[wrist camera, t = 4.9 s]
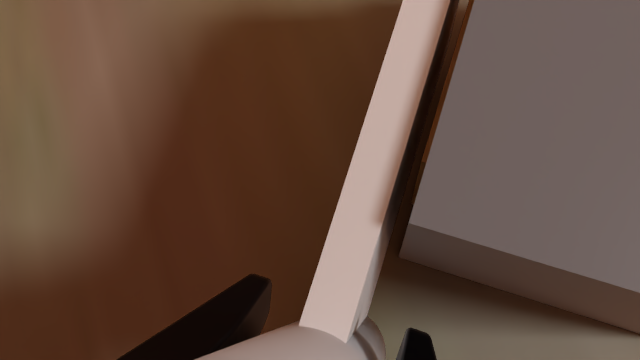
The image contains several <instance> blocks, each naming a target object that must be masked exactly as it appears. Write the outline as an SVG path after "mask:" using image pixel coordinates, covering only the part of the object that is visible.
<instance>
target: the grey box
mask: <svg viewBox="0 0 640 360" xmlns="http://www.w3.org/2000/svg"><path fill="white" fill-rule="evenodd" d="M411 204H414V206H413V209H412V213H411V216H410V219H409V223H408V226H407V230H406V233H405V236H404V240H403V243H402V246H401V250H400V253H399V258H402V259H405V260H409V261H412V262H415V263H418V264H421V265H424V266H428V267H431V268H434V269H437V270H440V271H443V272H446V273H450V274H453V275H456V276H459V277H462V278H465V279H468V280H472V281H475V282H478V283H481V284H484V285H487V286H491V287H494V288H497V289H500V290H503V291H506V292H509V293H513V294H516V295H519V296H522V297H525V298H528V299H532V300H535V301H538V302H541V303H544V304H547V305H550V306H554V307H557V308H560V309H563V310H566V311H569V312H572V313H576V314H579V315H582V316H585V317H588V318H591V319H595V320H598V321H601V322H604V323H607V324H610V325H613V326H617V327H620V328H623V329H626V330H629V331H632V332H636V333H639V334H640V0H469V3H468V6H467V9H466V13H465V16H464V19H463V23H462V26H461V30H460V33H459V36H458V40H457V43H456V46H455V50H454V53H453V57H452V60H451V63H450V67H449V70H448V73H447V77H446V80H445V83H444V87H443V90H442V94H441V97H440V100H439V104H438V107H437V110H436V114H435V117H434V120H433V124H432V127H431V131H430V134H429V137H428V141H427V144H426V147H425V151H424V154H423V157H422V161H421V165H420V169H419V173H418V176H417V180H416V184H415V188H414V192H413V196H412V200H411Z"/></svg>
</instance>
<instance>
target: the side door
mask: <svg viewBox="0 0 640 360" xmlns="http://www.w3.org/2000/svg"><path fill="white" fill-rule="evenodd" d="M458 3H459V0H403V2H402V5H401V8H400V12H399V15H398V18H397V21H396V24H395V27H394V30H393V33H392V36H391V40H390V43H389V46H388V49H387V52H386V55H385V58H384V61H383V64H382V68H381V71H380V74H379V77H378V80H377V83H376V86H375V89H374V92H373V96H372V99H371V102H370V105H369V108H368V111H367V114H366V117H365V120H364V124H363V127H362V130H361V133H360V136H359V139H358V142H357V145H356V148H355V152H354V155H353V158H352V161H351V164H350V167H349V170H348V173H347V176H346V179H345V183H344V186H343V189H342V192H341V195H340V198H339V201H338V204H337V207H336V211H335V214H334V217H333V220H332V223H331V226H330V229H329V232H328V235H327V239H326V242H325V245H324V248H323V251H322V254H321V257H320V260H319V263H318V267H317V270H316V273H315V276H314V279H313V282H312V285H311V288H310V291H309V295H308V298H307V301H306V304H305V307H304V310H303V313H302V316H301V319H300V320H299V321H296V322H293V323H291V324H288V325H285V326H283V327H280V328H277V329H275V330H272V331H269V332H267V333H264V334H261V335H259V336H256V337H253V338H251V339H248V340H245V341H243V342H240V343H237V344H235V345H232V346H229V347H227V348H224V349H221V350H219V351H216V352H213V353H211V354H208V355H205V356H203V357H200V358H197V359H195V360H385V359H386V349H385V343H384V339H383V336H382V334H381V332H380V330H379V328H378V327H377V325H376V324H375V323H374V322H373V321H372V320H371V319H370V318H369V317H368V316H367V314H368V311H369V308H370V304H371V301H372V298H373V294H374V291H375V288H376V284H377V281H378V278H379V274H380V271H381V268H382V264H383V261H384V258H385V254H386V251H387V248H388V244H389V241H390V238H391V234H392V231H393V228H394V224H395V221H396V218H397V214H398V211H399V208H400V204H401V201H402V198H403V194H404V191H405V188H406V184H407V181H408V178H409V174H410V171H411V168H412V164H413V161H414V158H415V154H416V151H417V148H418V144H419V141H420V138H421V134H422V131H423V128H424V124H425V121H426V118H427V114H428V111H429V108H430V104H431V101H432V98H433V94H434V91H435V88H436V84H437V81H438V78H439V74H440V71H441V68H442V64H443V61H444V58H445V54H446V51H447V48H448V44H449V40H450V36H451V32H452V28H453V24H454V20H455V16H456V12H457V7H458Z"/></svg>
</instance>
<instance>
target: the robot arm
mask: <svg viewBox="0 0 640 360" xmlns="http://www.w3.org/2000/svg"><path fill="white" fill-rule="evenodd" d="M271 289H272V283H271V280H270V279H268V278H265V277H262V276H259V275H256V274H250V275H248V276H246V277H245V278H243V279H242V280H240V281H239V282H237V283H236V284H234V285H232V286H231V287H229V288H228V289H226V290H225V291H223V292H221V293H220V294H218V295H217V296H215V297H214V298H212V299H211V300H209V301H207V302H206V303H204V304H203V305H201V306H200V307H198V308H196V309H195V310H193V311H192V312H190V313H189V314H187V315H186V316H184V317H182V318H181V319H179V320H178V321H176V322H175V323H173V324H171V325H170V326H168V327H167V328H165V329H164V330H162V331H161V332H159V333H157V334H156V335H154V336H153V337H151V338H150V339H148V340H146V341H145V342H143V343H142V344H140V345H139V346H137V347H136V348H134V349H132V350H131V351H129V352H128V353H126V354H125V355H123V356H121V357H120V358H118V359H117V360H195V359H197V358H200V357H203V356H205V355H208V354H211V353H213V352H216V351H219V350H221V349H224V348H227V347H229V346H232V345H235V344H237V343H240V342H243V341H245V340H248V339H251V338H253V337H256V336H259V335H260V333H261V331H262V328H263V326H264V324H265V321H266V319H267V316H268V313H269V309H270V299H271ZM396 360H437V359H436V355H435V351H434V347H433V344H432V340H431V337H430V336H429V334H427V333H425V332H422V331H419V330H416V329H413V328H408V329H407V330H406V332H405V335H404V338H403V341H402V343H401V346H400V349H399V352H398V355H397V358H396Z"/></svg>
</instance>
